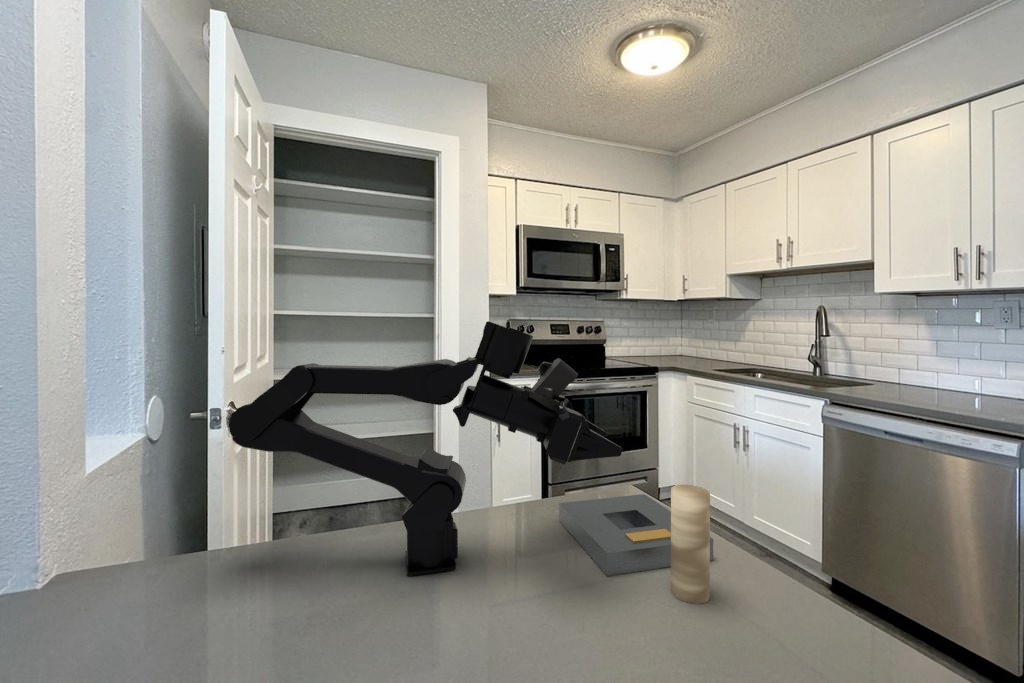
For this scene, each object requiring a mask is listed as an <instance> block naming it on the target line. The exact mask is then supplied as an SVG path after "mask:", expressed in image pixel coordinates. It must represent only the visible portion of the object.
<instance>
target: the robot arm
mask: <svg viewBox="0 0 1024 683" xmlns="http://www.w3.org/2000/svg"><path fill="white" fill-rule="evenodd" d="M482 331H483V332H482V336H481V340H480V342H479V346H478V348H477V351H476V353H475V356H474V357H471V356H468V357H467V358H466V359H464V360H461V361H457V362H456V361H454V360H451V359H446V358H445V359H436V360H430V361H424V362H418V363H413V364H405V365H400V366H394V365H393V366H390V365H387V366H384V365H375V366H374V365H335V364H334V365H333V364H332V365H330V364H329V365H328V364H325V365H324V364H322V365H321V364H317V363H313V362H312V363H305V364H299V365H296V366H293V367H292V368H291V369H290V370H289V371H288V372H287V373H286V374H285V375H284V376H283V377H282V378H281V379H280V380H279V381H278V382H276V383H275V384H273V385H272V386H271V387H270V388H268V389H266V391H264V392H262V394H260V395H259V396H258V397H256V398H255V399H254V400H253V402H250V403H247V404H244V405H242V406H240V407H238V408H237V409H236V410H234V412H233V413H232V415H231V416H230V419H229V423H228V427H229V433H230V435H231V438H232V439H231V440H232V441H233V442H234V443H235V444H236V445H238V446H240V447H241V448H245V449H251V450H256V451H257V450H258V451H262V452H267V453H268V452H272V453H275V452H276V453H295V454H299V455H302V456H305V457H308V458H311V459H313V460H316V461H319V462H322V463H325V464H327V465H331V466H333V467H336V468H338V469H342V470H344V471H348V472H350V473H352V474H355V475H358V476H360V477H363V478H366V479H369V480H372V481H375V482H377V483H380V484H383V485H386V486H389V487H392V488H393V489H395V490H396V491H398V492H399V493H400V494H401V495H402V496H403V497H404V498H405V499H406V500H407V501H408V502H409V503H408V504H407V506H406V508H405V509H404V512H403V514H402V515H401V519H402V521H403V524H404V527H405V530H406V550H405V569H406V572H405V573H406V576H408V577H409V576H417V575H424V574H431V573H432V574H433V573H440V572H446V571H454V570H455V569H457V564H456V560H457V558H458V556H459V555H458V554H459V553H458V552H459V550H458V549H459V546H458V545H459V544H458V541H459V540H458V538H459V537H458V536H459V535H458V534H459V532H458V531H459V530H458V527H457V525H456V522H455V521H454V517H453V514H452V513H454V512H455V510H457V509H458V508H459V506H460V505H461V503H462V500H463V495H464V491H465V488H466V483H467V478H466V476H467V475H466V473H465V470H464V469H463V467H462V465H461V464H459V463H458V462H456V461H454V460H453V458H454V456H453V455H444V454H441V453H439V452H437V451H435V450H433V449H431V448H428V447H426V448H425V449H424V451H423V452H422V454H421V455H420V456H417V455H416V456H412V455H411V456H410V455H406V454H403V453H400V452H397V451H395V450H392V449H389V448H388V447H387V448H386V447H383V446H381V445H379V444H376V443H373V442H369V441H368V440H365V439H361V438H359V437H357V436H353V435H350V434H347V433H345V432H342V431H339V430H337V429H334V428H331V427H328V426H327V425H323V424H320V423H317V422H316V421H314V420H313V419H312V418H311V417H310V416H309V415H308V414H307V413H306V412H304V411H303V409H305V407H306V406H307V405H308V403H309V402H310V401H311V399H312V398H313V397H314V396H315V394H327V395H328V394H329V395H330V394H334V395H335V394H336V395H339V394H340V395H388V396H389V395H391V396H396V397H402V398H405V399H409V400H411V401H415V402H418V403H419V402H421V403H424V404H430V405H435V406H436V405H437V406H443V405H444V406H445V405H447V404H450V403H451V402H452V401H454V400H455V399H456V398H457V397H458V396H459V395H460V393H461V391H462V390H463V387H464V385H465V383H466V382H467V381H469V379H472V378H473V376H474V375H475V374H476V372H477V370H478V368H479V365H480V366H482V367H481V371H480V374H479V376H478V379H477V382H476V384H475V385H467V386H466V389H465V392H464V395H463V397H462V400H461V403H460V404H458V405H455V406H454V407H453V409H452V412H453V413H454V415H455V416H456V418H457V420H458V423H459V426H460V427H462V428H463V427H465V426H466V424H467V422H468V419H469V416H470V415H473V416H476V417H479V418H482V419H484V420H487V421H490V422H492V423H494V424H498V425H499V426H500V425H501V426H503V427H506V428H507V431H509V432H511V433H513V434H516V432H520V433H523V434H525V435H528V436H530V437H533V438H535V439H536V442H538V443H540V444H543V446H544V448H545V452H546V453H547V455H548V457H549V459H550V460H551V461H554V462H556V463H559V464H562V465H566V463H568V464H569V463H572V462H574V461H575V462H576V461H584V460H593V459H605V458H618V457H621V455H622V453H623V447H621V446H619V445H618V444H617V443H615V442H613V441H611V440H609V439H608V438H606V436H607V432H606V431H605V430H603V429H602V428H600V427H598V426H597V425H596V424H593V423H592V422H591V421H589V420H587V419H586V417H585V416H584V415H583V414H582V413H580V412H578V411H576V410H574V407H573V406H572V403H571V402H570V400H569V399H568V398H566V397H565V396H564V395H561V394H562V393H563V392H564V391H565V390H566V388H567V387H568V386H569V385H570V384H571V383H573V382H574V381H575V380H576V379H577V378H578V375H579V374H578V373H577V372H576V370H574V369H573V368H572V367H571V366H570V365H568V364H567V363H566V362H565V361H564V360H562V359H561V358H560V357H558V358H556V359H554V360H553V361H552V362H547V361H543V362H542V363H540V365H539V366H538V368H537V371H538V373H539V376H540V377H539V378H537V380H536V381H537V382H535V384H533V385H532V387H530V386H527V385H523V386H522V385H521V387H519V386H517V385H514V384H511V383H509V382H506V381H503V380H500V379H497V378H495V377H492V376H489V375H486V374H485V373H486V372H488V373H490V374H492V375H496V376H498V377H500V378H501V377H502V378H504V379H511V377H512V376H513V374H518V375H520V374H521V370H522V368H523V366H524V362H525V360H526V357H527V354H528V352H529V350H530V348H531V347H530V346H531V344H532V342H533V338H534V336H533V335H531V334H529V333H526V332H523V331H521V330H518V329H515V328H512V327H510V326H509V327H506V326H502V325H500V324H497V323H495V322H491V321H486V323H485V325H484V328H483V330H482ZM561 402H564V403H563V405H562V406H561Z"/></svg>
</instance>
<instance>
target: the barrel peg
mask: <svg viewBox="0 0 1024 683" xmlns="http://www.w3.org/2000/svg"><path fill="white" fill-rule="evenodd" d="M670 511H671V567H670V593H671V594H672V595H673V596H674V597H675V599H678V600H680V601H682V602H685V603H688V604H692V605H693V604H694V605H695V604H696V605H697V604H698V605H699V604H705V603H707V602H708V601H709V600H710V596H711V595H710V593H711V592H710V591H711V590H710V586H711V585H710V582H711V581H710V575H711V574H710V572H711V571H710V570H711V566H710V565H711V563H710V562H711V561H710V537H711V493H710V491H709V490H708V489H706V488H704V487H701V486H697V485H692V484H678V485H674V486H671V488H670Z"/></svg>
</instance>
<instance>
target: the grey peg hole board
mask: <svg viewBox="0 0 1024 683" xmlns="http://www.w3.org/2000/svg"><path fill="white" fill-rule="evenodd" d="M558 521H559V522H560V523H561V525H562V526H563V527H564V528H565V529H566V530H567V532H568V533H569V534H570V535H571V536H572V537H573V539H574V540H575V541H576V542H577V543H578V545H580V547H581V548H582V549H583V551H585V553H586V554H587V555H589V557H590V558H591V559H592V560H593V562H594V563H595V564H596V566H598V568H599V569H600V570H601V571H602V572H603V573H604V574H605V576H606V577H610V576H619V575H625V574H626V575H627V574H630V573H639V572H645V571H651V570H658V569H664V568H671V509H668V508H667V507H665V506H663V505H662V504H660V503H659V502H657V501H656V500H654V499H653V498H651V497H650V496H648V495H647V494H645V493H643V494H634V495H633V494H632V495H623V496H613V497H604V498H596V499H595V498H593V499H585V500H575V501H564V502H559V503H558ZM711 561H714V538H713V537H711V536H710V562H711Z"/></svg>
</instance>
